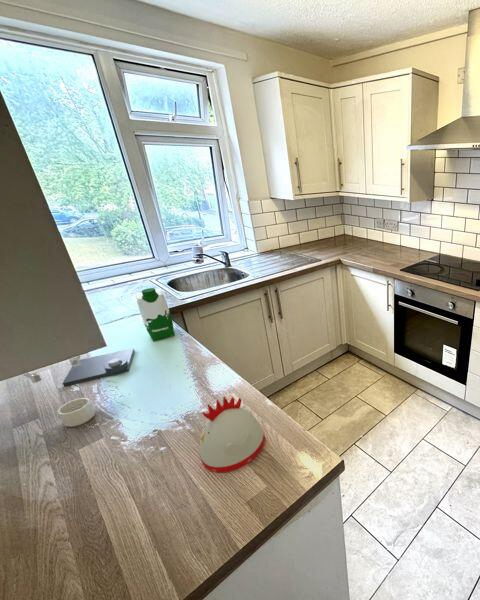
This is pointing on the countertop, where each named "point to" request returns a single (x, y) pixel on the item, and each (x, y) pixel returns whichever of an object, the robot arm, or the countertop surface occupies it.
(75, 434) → the countertop surface
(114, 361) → the tare button
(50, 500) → the countertop surface
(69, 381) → the scale
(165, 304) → the milk carton
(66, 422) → the bowl
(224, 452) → the kitchen timer
